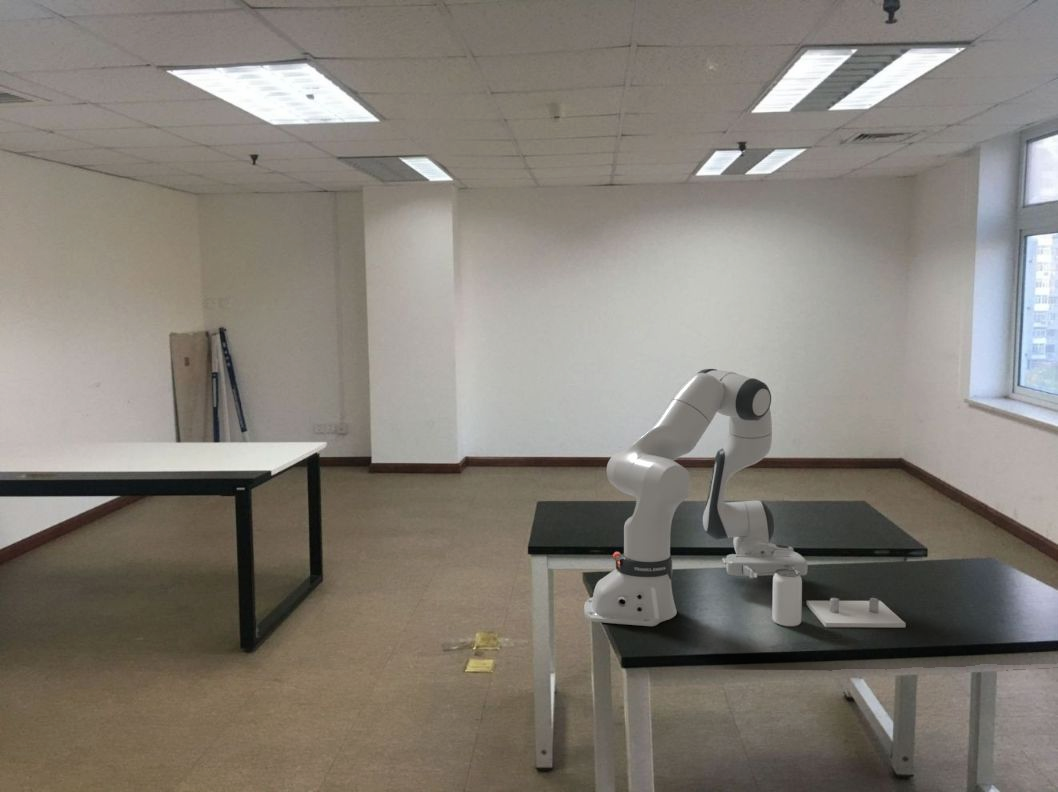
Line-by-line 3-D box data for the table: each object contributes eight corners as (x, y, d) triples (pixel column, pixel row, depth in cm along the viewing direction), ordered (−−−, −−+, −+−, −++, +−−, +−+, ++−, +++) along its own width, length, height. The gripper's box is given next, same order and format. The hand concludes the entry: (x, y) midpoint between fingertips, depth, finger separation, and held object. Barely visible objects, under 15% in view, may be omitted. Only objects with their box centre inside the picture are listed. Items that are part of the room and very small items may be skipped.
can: (805, 621, 179) (806, 571, 178) (794, 629, 175) (794, 578, 173) (779, 614, 184) (780, 566, 182) (767, 622, 179) (768, 572, 178)
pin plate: (825, 627, 176) (825, 610, 175) (806, 604, 190) (806, 588, 189) (905, 627, 175) (905, 610, 174) (880, 604, 189) (880, 589, 188)
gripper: (720, 546, 204) (731, 563, 191) (797, 546, 203) (814, 563, 190) (720, 569, 205) (731, 587, 191) (797, 569, 204) (814, 587, 190)
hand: (773, 575), depth 190 cm, fingers open, 8 cm apart
